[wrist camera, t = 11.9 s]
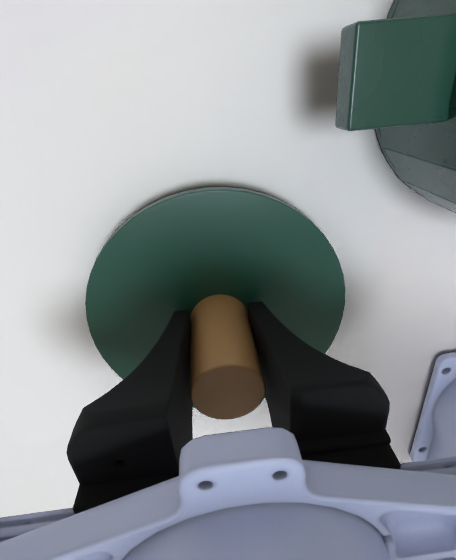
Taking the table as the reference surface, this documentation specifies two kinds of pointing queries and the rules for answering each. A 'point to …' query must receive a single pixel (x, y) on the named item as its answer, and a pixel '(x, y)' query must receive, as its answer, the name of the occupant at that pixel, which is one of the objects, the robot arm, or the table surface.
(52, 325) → the table surface
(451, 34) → the pot
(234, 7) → the table surface
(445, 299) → the table surface
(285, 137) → the table surface
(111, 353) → the lid
